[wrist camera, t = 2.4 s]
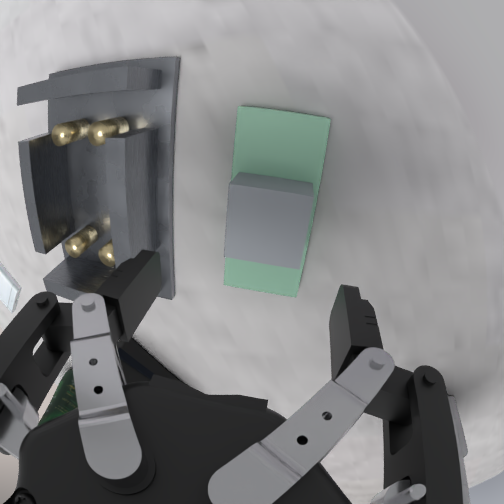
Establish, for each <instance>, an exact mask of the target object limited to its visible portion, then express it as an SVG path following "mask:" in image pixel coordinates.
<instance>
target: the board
mask: <svg viewBox="0 0 504 504" xmlns="http://www.w3.org/2000/svg"><path fill="white" fill-rule="evenodd" d="M330 121H331V119H330V118H327V117H321V116H316V115H310V114H304V113H298V112H291V111H284V110H276V109H268V108H259V107H250V106H238V110H237V120H236V131H235V142H234V153H233V165H232V177H231V182H230V183H229V192H228V205H227V219H226V233H225V248H224V257H226V258H225V273H224V285H227V286H232V287H238V288H243V289H249V290H255V291H260V292H266V293H272V294H278V295H284V296H290V297H296V296H297V292H298V288H299V283H300V279H301V274H302V270H303V265H304V261H305V256H306V252H307V247H308V242H309V237H310V233H311V228H312V223H313V218H314V213H315V208H316V202H317V197H318V192H319V186H320V181H321V175H322V170H323V164H324V158H325V152H326V146H327V140H328V134H329V128H330Z"/></svg>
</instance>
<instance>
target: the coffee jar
mask: <svg viewBox="0 0 504 504" xmlns="http://www.w3.org/2000/svg"><path fill="white" fill-rule="evenodd" d="M76 408H78V404H77V397H76V391H75V383H74V375H73V369H71V370H68V371H67V372H66V373H65V375H64V376H63V378H62V380H61V381H60V383H59V385H58V387H57V389H56V391H55V394H54V395H53V398H52V400H51V402H50V404H49V406H48V408H47V410H46V412H45V413H44V415H43V417H42V418H41V420H40V421H39V423H38V425H41V424H43V423H45V422H47V421H50V420H52V419H54V418H56V417H59V416H61V415H63V414H65V413H67V412H69V411H72V410H74V409H76Z"/></svg>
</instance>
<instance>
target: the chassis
mask: <svg viewBox="0 0 504 504" xmlns="http://www.w3.org/2000/svg"><path fill="white" fill-rule="evenodd" d="M179 65H180V58H179V57H159V58H146V59H135V60H126V61H117V62H110V63H103V64H97V65H91V66H85V67H80V68H75V69H70V70H65V71H61V72H57V73H52V74H49V79H48V80H44V81H40V82H36V83H33V84H29V85H25V86H22V87H18V92H17V106H18V105H23V104H28V103H33V102H39V101H44V100H48V133H44V134H41V135H38V136H34V137H31V138H28V139H25V140H22V141H19V142H18V144H19V157H20V167H21V176H22V184H23V191H24V198H25V204H26V209H27V215H28V220H29V225H30V230H31V234H32V239H33V243H34V247H35V251H36V252H39V253H43V254H47V253H48V252H49V251H51V250H52V249H53V248H54V247H56V246H57V245H58V244H59V243H62V248H63V252H64V257H65V260H64V261H62V262H61V263H60V264H59V265H58V266H57V267H56V268H54V269H53V270H52V271H51V272H50V273H49V274H48V275H47V276H46V277H44V278H43V280H44V284H45V287H46V290H47V292H52V293H54V294H55V295H58V296H61V297H64V298H67V299H69V300H72V301H75V300H76V299H77V298H78V297H79V296H81V295H84V294H87V293H95V292H96V291H97V290H98V289H99V288H100V286H101V285H102V284H103V283H104V282H105V281H106V280H107V279H108V277H109V276H111V274H112V273H113V272H114V271H116V269H117V267H118V266H119V265H120V264H121V263H122V262H124V261H126V260H128V259H130V258H135V257H136V256H137V254H138V253H139V252H140V251H141V250H143V249H145V250H150V251H155V252H159V254H160V263H161V277H162V284H161V289H160V292H159V294H158V296H157V297H161V298H166V299H170V300H172V299H173V298H174V296H175V285H174V261H173V156H174V132H175V115H176V100H177V87H178V76H179Z"/></svg>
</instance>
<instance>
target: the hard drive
mask: <svg viewBox="0 0 504 504" xmlns="http://www.w3.org/2000/svg"><path fill="white" fill-rule="evenodd" d="M20 291H21V286H20V285H19V284H18V283H17V282H16V281H15V279H14V278H13V277H12V276H11V275H10V273H9V272H8V271H7V270H6V268H5V267H4V266H3V265H2V263H1V262H0V300H1V301H2V302H3V303H4V305H5V306H6V307H7V308H8V309H9V310H10V311H11V312H12V313H13V312H14V311H15V309H16V305H17V301H18V298H19V294H20Z"/></svg>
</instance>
